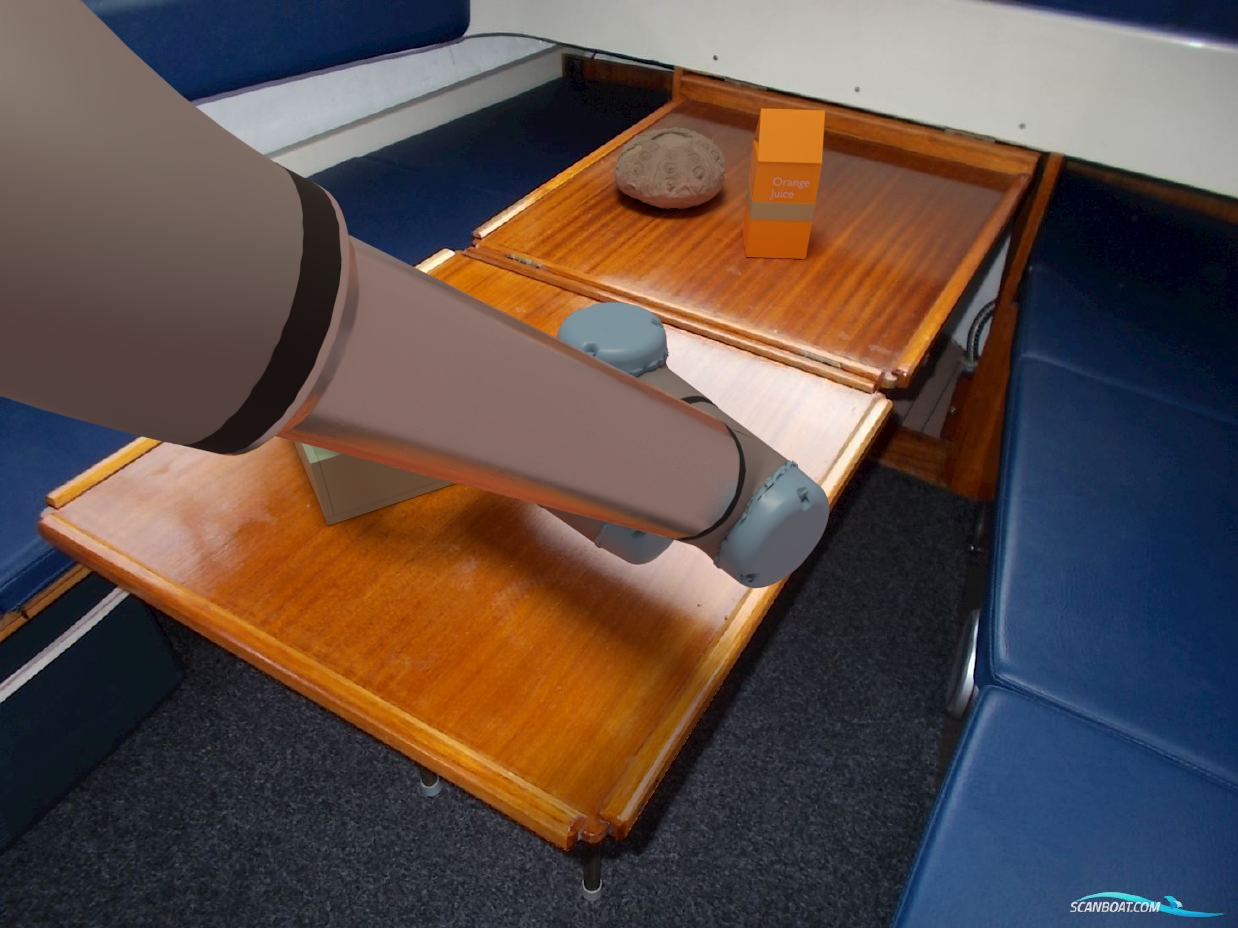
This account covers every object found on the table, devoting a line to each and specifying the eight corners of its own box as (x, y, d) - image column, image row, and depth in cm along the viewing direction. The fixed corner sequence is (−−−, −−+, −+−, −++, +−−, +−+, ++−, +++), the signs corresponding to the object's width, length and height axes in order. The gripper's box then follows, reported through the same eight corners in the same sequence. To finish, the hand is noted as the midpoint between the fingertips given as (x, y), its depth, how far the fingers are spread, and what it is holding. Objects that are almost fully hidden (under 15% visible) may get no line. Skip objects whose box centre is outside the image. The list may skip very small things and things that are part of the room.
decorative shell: (654, 231, 131) (657, 167, 125) (592, 190, 142) (592, 129, 136) (744, 205, 139) (752, 143, 132) (679, 167, 150) (683, 109, 143)
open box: (328, 526, 83) (309, 463, 78) (288, 430, 94) (270, 369, 88) (488, 472, 89) (481, 411, 84) (434, 388, 100) (424, 329, 95)
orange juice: (741, 234, 131) (757, 98, 118) (799, 236, 131) (822, 100, 118) (745, 258, 125) (762, 119, 112) (806, 260, 125) (830, 121, 112)
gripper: (409, 554, 67) (258, 438, 77) (618, 409, 82) (468, 328, 92) (394, 483, 62) (235, 369, 72) (619, 342, 77) (460, 264, 87)
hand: (365, 346), depth 82 cm, fingers open, 13 cm apart
